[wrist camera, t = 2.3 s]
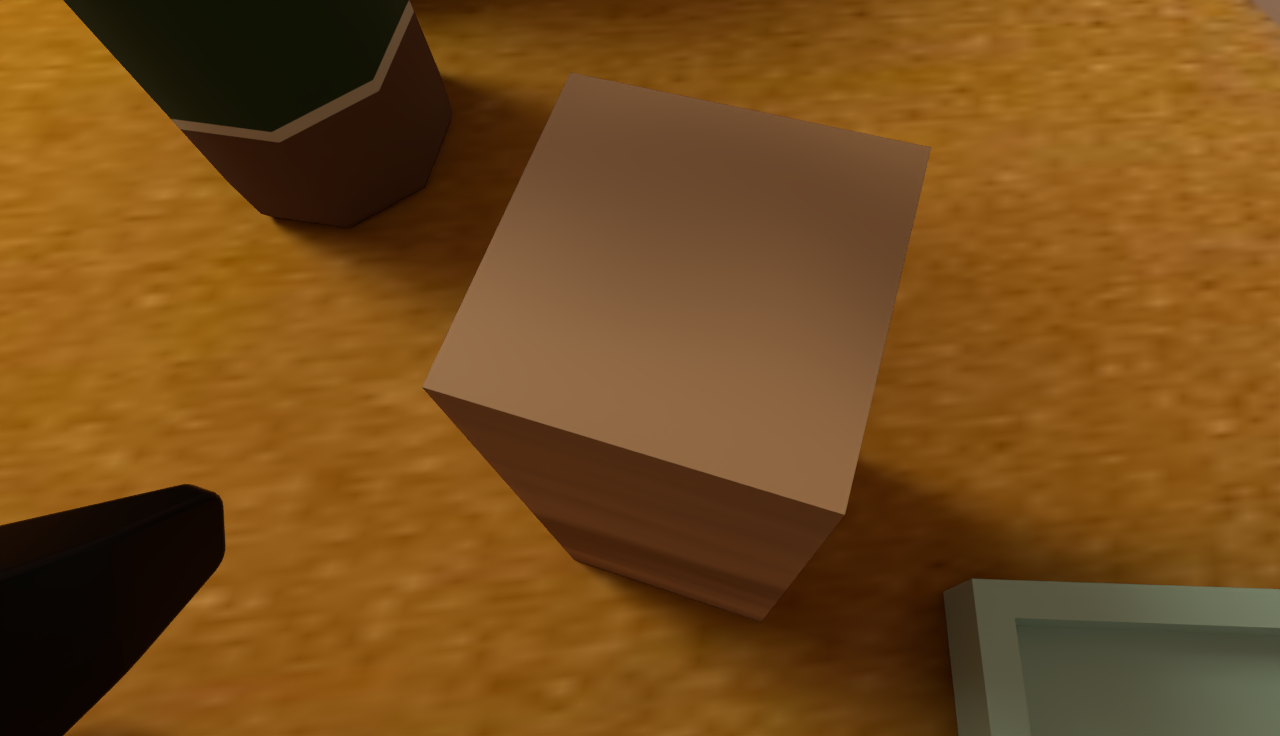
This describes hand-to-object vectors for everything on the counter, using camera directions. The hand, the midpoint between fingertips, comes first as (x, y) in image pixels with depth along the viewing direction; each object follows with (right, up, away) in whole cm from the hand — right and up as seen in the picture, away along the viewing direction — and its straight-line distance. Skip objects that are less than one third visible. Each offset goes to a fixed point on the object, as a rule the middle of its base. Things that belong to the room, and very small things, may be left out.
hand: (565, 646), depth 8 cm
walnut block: (+2, 0, +12) cm, 12 cm away
